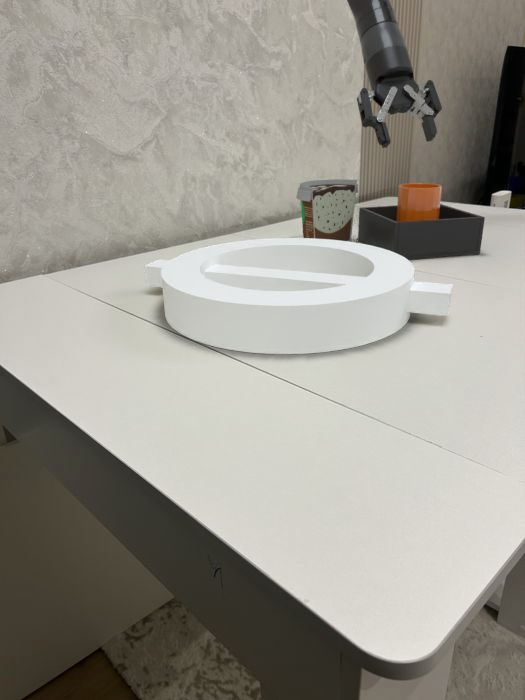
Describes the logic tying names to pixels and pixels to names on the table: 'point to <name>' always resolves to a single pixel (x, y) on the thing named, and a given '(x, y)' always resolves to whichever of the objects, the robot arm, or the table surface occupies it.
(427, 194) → the drinking cup
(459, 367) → the table surface
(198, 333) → the ring with crossbar
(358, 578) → the table surface
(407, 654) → the table surface
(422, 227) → the basket
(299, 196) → the food container
